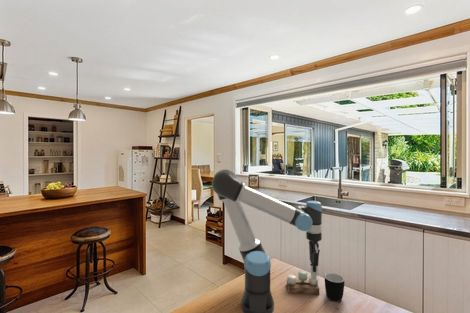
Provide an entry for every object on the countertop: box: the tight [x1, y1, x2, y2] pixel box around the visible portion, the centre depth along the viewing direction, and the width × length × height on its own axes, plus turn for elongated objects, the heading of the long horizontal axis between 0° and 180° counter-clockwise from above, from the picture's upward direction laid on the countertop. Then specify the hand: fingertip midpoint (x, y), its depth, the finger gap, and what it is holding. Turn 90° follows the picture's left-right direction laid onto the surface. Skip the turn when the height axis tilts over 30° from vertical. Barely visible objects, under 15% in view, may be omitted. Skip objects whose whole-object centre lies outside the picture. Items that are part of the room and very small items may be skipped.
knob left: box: [286, 274, 297, 285], centre depth 129 cm, size 4×4×5 cm
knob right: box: [308, 274, 319, 286], centre depth 128 cm, size 4×4×5 cm
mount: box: [286, 278, 320, 295], centre depth 129 cm, size 15×8×3 cm, turn 86°
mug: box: [324, 272, 345, 302], centre depth 123 cm, size 12×9×10 cm
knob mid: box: [297, 270, 308, 284], centre depth 129 cm, size 4×4×5 cm
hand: (313, 276), depth 128 cm, fingers closed
